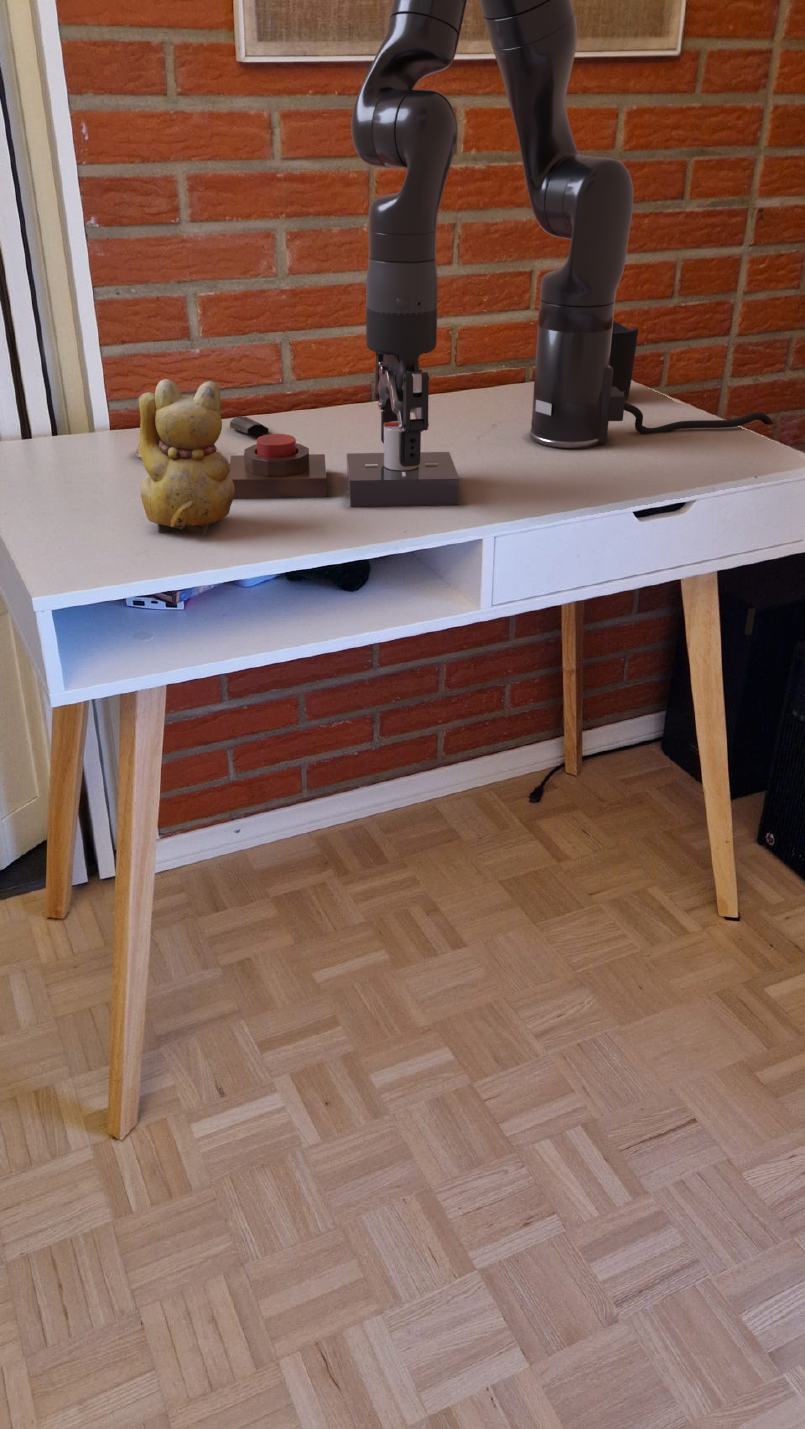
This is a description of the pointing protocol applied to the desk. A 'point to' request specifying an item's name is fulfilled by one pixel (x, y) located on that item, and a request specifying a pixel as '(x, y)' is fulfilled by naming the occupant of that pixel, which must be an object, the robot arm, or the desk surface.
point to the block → (248, 426)
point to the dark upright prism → (622, 356)
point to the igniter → (278, 475)
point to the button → (276, 445)
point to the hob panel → (402, 481)
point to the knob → (393, 447)
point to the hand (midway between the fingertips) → (400, 454)
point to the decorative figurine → (183, 459)
